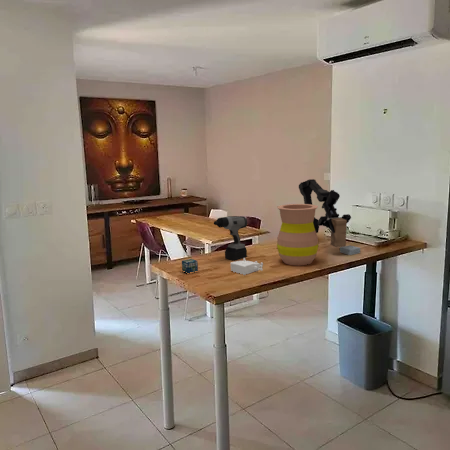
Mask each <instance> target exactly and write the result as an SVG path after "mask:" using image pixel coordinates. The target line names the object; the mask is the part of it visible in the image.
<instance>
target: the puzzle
mask: <svg viewBox="0 0 450 450" xmlns="http://www.w3.org/2000/svg"><path fill="white" fill-rule="evenodd" d="M198 265H199V264H198V260H195V259H194V258H188V259H184V260H181V271H182V270H183V271H185V272H187V273H190V272H195V271H198V272H199V269H198V268H199V267H198Z"/></svg>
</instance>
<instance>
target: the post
mask: <svg viewBox="0 0 450 450" xmlns="http://www.w3.org/2000/svg"><path fill="white" fill-rule="evenodd" d="M332 223H333V226H334V230H335V233H333V232H332V231H331V230H330V245H331V246H332V247H334V248H340V247H344V246H347V226H348V225H347V224H348V223H347V220H345V219H342V218H337V219H332Z"/></svg>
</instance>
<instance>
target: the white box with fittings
mask: <svg viewBox="0 0 450 450" xmlns="http://www.w3.org/2000/svg"><path fill="white" fill-rule="evenodd" d="M263 267H264V263H263V262H262V261H261V262H260V263H259V262H258V261H257V260H255V261H250V260H246V257H245V258H242V260H235V261H232V262H230V271H233V273H235V272H236V274H239V273H240V274H239V275H242V274H243V276H247V275H249V274H252V273H253V272H258V271H261V272H263V270H264V269H263ZM246 274H247V275H246Z"/></svg>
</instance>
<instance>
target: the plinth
mask: <svg viewBox="0 0 450 450" xmlns="http://www.w3.org/2000/svg"><path fill="white" fill-rule="evenodd" d="M339 253H342V254H345V255H347V256H352V255H357V254H360V253H361V247H358V246H354V245H350V244H349V245H346V246H344V247H339Z"/></svg>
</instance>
